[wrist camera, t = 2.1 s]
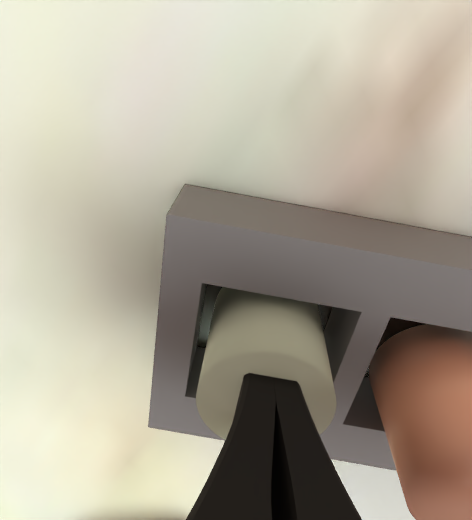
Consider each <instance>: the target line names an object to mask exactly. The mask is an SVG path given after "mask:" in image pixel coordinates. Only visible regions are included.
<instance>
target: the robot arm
mask: <svg viewBox="0 0 472 520" xmlns="http://www.w3.org/2000/svg"><path fill="white" fill-rule="evenodd" d="M186 520H362V519H361V517H360V515H359V513H358V512H357V510H356V508H355V506H354V504H353V502H352V501H351V499H350V497H349V495H348V493H347V491H346V489H345V487H344V486H343V484H342V482H341V480H340V478H339V476H338V474H337V472H336V470H335V468H334V465H333V463H332V461H331V459H330V457H329V455H328V453H327V451H326V448H325V446H324V444H323V442H322V440H321V437H320V435H319V433H318V431H317V428H316V426H315V423H314V421H313V419H312V416H311V414H310V411H309V409H308V406H307V404H306V401H305V398H304V396H303V393H302V390H301V387H300V385H299V383H298V382H297V381H293V380H287V379H282V378H276V377H270V376H265V375H259V374H253V373H248V374H246V375H244V377H243V381H242V385H241V389H240V394H239V398H238V402H237V406H236V410H235V414H234V418H233V422H232V425H231V428H230V430H229V433H228V435H227V438H226V440H225V443H224V445H223V448H222V450H221V452H220V454H219V456H218V458H217V460H216V463H215V465H214V467H213V469H212V471H211V473H210V475H209V477H208V479H207V481H206V483H205V485H204V487H203V489H202V491H201V493H200V495H199V497H198V499H197V501H196V502H195V504H194V506H193V508H192V510H191V512H190V513H189V515H188V517H187V519H186Z"/></svg>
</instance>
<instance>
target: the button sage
mask: <svg viewBox="0 0 472 520" xmlns="http://www.w3.org/2000/svg"><path fill="white" fill-rule="evenodd" d="M248 373H253V374H259V375H265V376H270V377H276V378H282V379H287V380H293V381H297V382H298V383H299V385H300V387H301V390H302V393H303V396H304V398H305V401H306V404H307V406H308V409H309V411H310V414H311V416H312V419H313V421H314V423H315V426H316V428H317V431H318V433H319V435H320V434H321V433H322V432H324V431H325V430H326V429H327V427H328V426H329V425H330V423H331V421H332V419H333V418H334V415H335V412H336V395H335V390H334V385H333V379H332V374H331V369H330V364H329V358H328V353H327V348H326V343H325V338H324V332H323V327H322V322H321V317H320V311H319V306H318V304H315V303H310V302H304V301H299V300H293V299H287V298H282V297H276V296H271V295H265V294H260V293H254V292H249V291H243V290H238V289H232V288H227V287H222V288H221V290H220V292H219V293H218V296H217V298H216V302H215V306H214V311H213V316H212V320H211V325H210V330H209V335H208V340H207V344H206V349H205V354H204V359H203V364H202V369H201V373H200V378H199V383H198V388H197V393H196V405H197V409H198V412H199V414H200V416H201V418H202V420H203V421H204V423H205V424H206V425H207V426H208V427H209V429H210V430H212V431H213V432H214V433H215V434H217V435H218V436H219V437H221V438H223V439H224V440H226V438H227V435H228V433H229V430H230V428H231V425H232V422H233V418H234V414H235V410H236V406H237V402H238V398H239V394H240V389H241V385H242V381H243V377H244V375H246V374H248Z"/></svg>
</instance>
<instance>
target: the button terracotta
mask: <svg viewBox="0 0 472 520" xmlns="http://www.w3.org/2000/svg"><path fill="white" fill-rule="evenodd" d="M369 380H370V384H371V387H372V390H373V394H374V397H375V400H376V404H377V407H378V410H379V414H380V417H381V420H382V424H383V427H384V430H385V434H386V437H387V440H388V443H389V447H390V450H391V453H392V457H393V460H394V463H395V467H396V470H397V473H398V477H399V480H400V483H401V487H402V490H403V493H404V497H405V500H406V503H407V506H408V509H409V511H410V513H411V514H412V516H413V517H414V518H415V519H416V520H472V332H470V331H464V330H459V329H453V328H448V327H442V326H437V325H431V324H425V325H420V326H416V327H412V328H409V329H406V330H404V331H402V332H400V333H398V334H396V335H394V336H392V337H391V338H389V339H388V340H387V341H386V342H384V343H383V344H382V345H381V346H380V347H379V348H378V350H377V351H376V352H375V354H374V355H373V358H372V360H371V362H370V365H369Z"/></svg>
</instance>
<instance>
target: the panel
mask: <svg viewBox="0 0 472 520" xmlns="http://www.w3.org/2000/svg"><path fill="white" fill-rule="evenodd" d="M206 284H210V285H216V286H221V287H227V288H232V289H238V290H243V291H249V292H254V293H260V294H265V295H271V296H276V297H282V298H287V299H293V300H299V301H304V302H310V303H315V304H321V305H326V306H332V307H333V308H332V310H331V313H330V316H329V319H328V322H327V325H326V327H325V330H324V338H325V343H326V348H327V353H328V358H329V364H330V369H331V374H332V379H333V385H334V390H335V395H336V412H335V415H334V418H333V419H332V421H331V423H330V425H329V426H328V427H327V429H326V430H325V431H324V432H322V433H321V434H320V437H321V440H322V442H323V444H324V446H325V448H326V451H327V453H328V455H329V457H330V459H334V460H339V461H345V462H351V463H357V464H362V465H368V466H374V467H380V468H385V469H391V470H396V467H395V463H394V460H393V457H392V453H391V450H390V447H389V443H388V440H387V437H386V434H385V430H384V427H383V424H382V420H381V417H380V414H379V410H378V407H377V404H376V400H375V397H374V394H373V390H372V387H371V384H370V380H369V377H364V376H365V373H366V371H367V369H368V367H369V364H370V362H371V360H372V358H373V355H374V353H375V351H376V349H377V347H378V344H379V342H380V340H381V338H382V335H383V333H384V331H385V329H386V326H387V324H388V322H389V320H390V317H392V318H398V319H403V320H409V321H415V322H420V323H426V324H431V325H437V326H442V327H448V328H453V329H459V330H464V331H470V332H472V237H467V236H462V235H457V234H451V233H446V232H440V231H435V230H430V229H424V228H419V227H413V226H408V225H403V224H397V223H392V222H386V221H381V220H375V219H370V218H365V217H359V216H354V215H348V214H343V213H338V212H332V211H327V210H321V209H316V208H311V207H305V206H300V205H294V204H289V203H284V202H278V201H273V200H267V199H262V198H257V197H251V196H246V195H240V194H235V193H230V192H224V191H219V190H213V189H208V188H203V187H197V186H192V185H186V184H185V185H184V187H183V188H182V190H181V191H180V193H179V195H178V196H177V198H176V200H175V201H174V203H173V205H172V206H171V208H170V210H169V211H168V213H167V217H166V229H165V240H164V252H163V263H162V275H161V286H160V297H159V309H158V320H157V332H156V343H155V355H154V366H153V377H152V389H151V400H150V412H149V423H148V427H150V428H156V429H162V430H168V431H173V432H179V433H185V434H190V435H196V436H202V437H208V438H213V439H219V440H224V439H223V438H221V437H219V436H218V435H217V434H215V433H214V432H213V431H212V430H210V429H209V427H208V426H207V425H206V424H205V423H204V421H203V420H202V418H201V416H200V414H199V412H198V409H197V405H196V393H197V388H198V383H199V378H200V373H201V369H202V364H203V359H204V354H205V349H206V348H202V347H197V342H198V336H199V329H200V323H201V317H202V310H203V304H204V297H205V291H206Z"/></svg>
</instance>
